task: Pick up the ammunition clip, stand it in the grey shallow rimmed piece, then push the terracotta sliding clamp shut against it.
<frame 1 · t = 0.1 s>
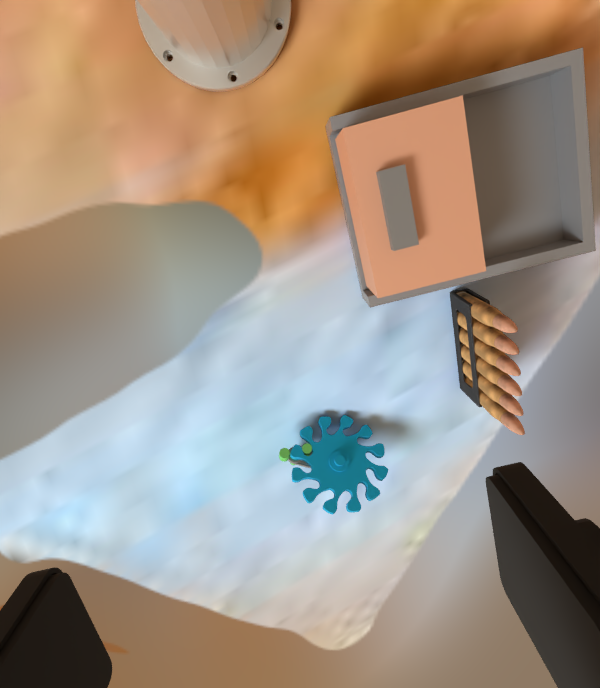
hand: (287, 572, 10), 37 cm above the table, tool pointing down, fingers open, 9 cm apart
grey shallow rimmed piece: (526, 168, 42), on the table
ammunition clip: (463, 339, 47), on the table
gear: (330, 442, 50), on the table
slider: (409, 203, 38), point 5 cm above the table, slide at 6.0 cm
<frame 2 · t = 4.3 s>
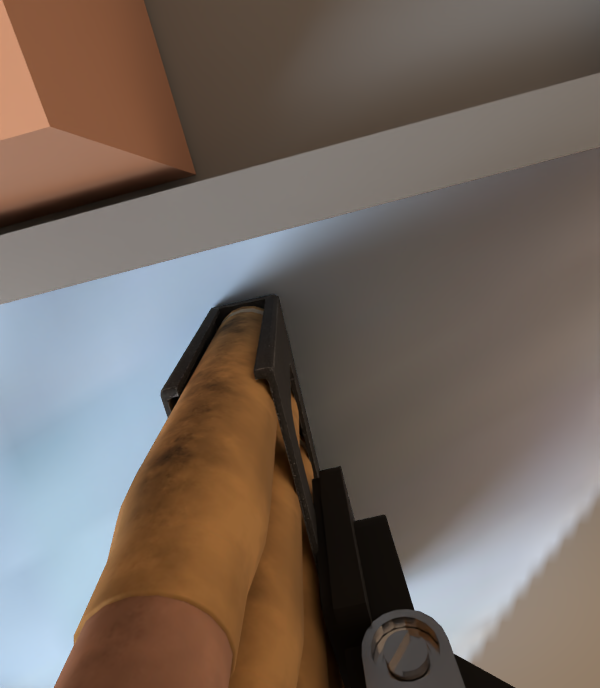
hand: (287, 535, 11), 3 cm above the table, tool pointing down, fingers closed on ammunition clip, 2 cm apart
ammunition clip: (288, 471, 14), on the table, touching gripper
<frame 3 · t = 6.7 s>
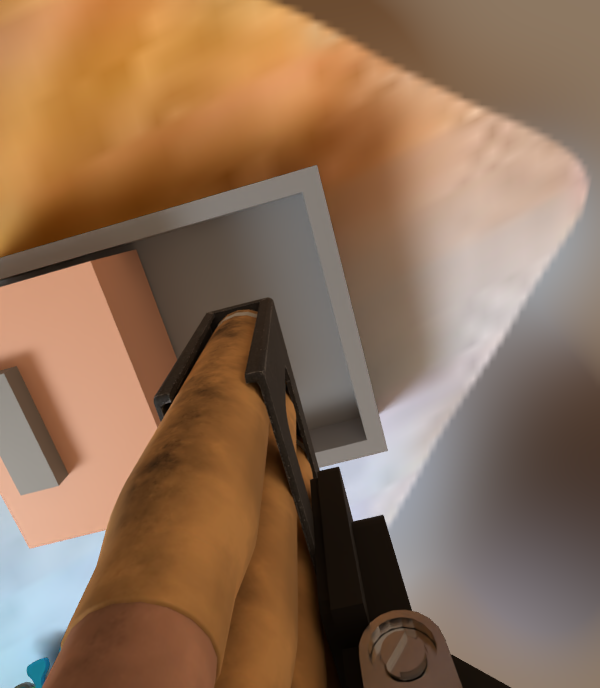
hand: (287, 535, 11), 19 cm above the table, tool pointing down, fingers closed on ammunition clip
grey shallow rimmed piece: (300, 316, 29), on the table
ammunition clip: (288, 472, 14), point 16 cm above the table, touching gripper
gear: (87, 667, 37), on the table
slider: (80, 398, 25), point 5 cm above the table, slide at 6.0 cm
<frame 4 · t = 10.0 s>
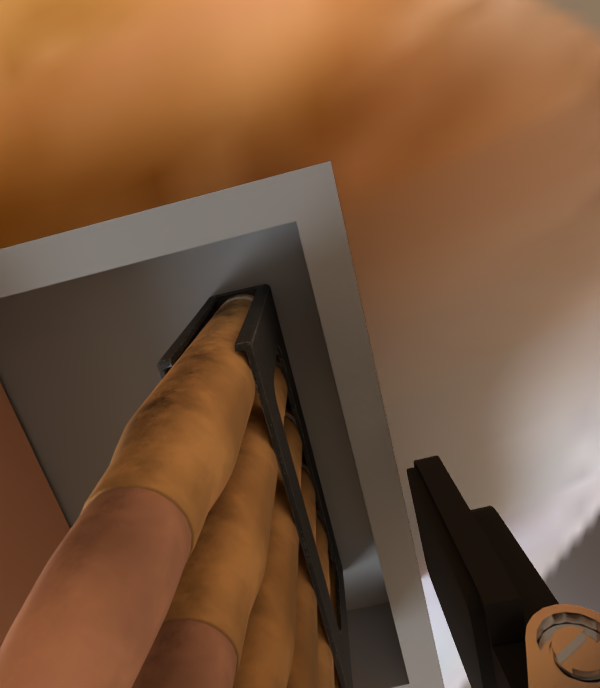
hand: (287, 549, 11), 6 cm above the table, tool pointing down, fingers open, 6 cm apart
grey shallow rimmed piece: (288, 428, 16), on the table
ammunition clip: (282, 445, 15), point 1 cm above the table, touching grey shallow rimmed piece
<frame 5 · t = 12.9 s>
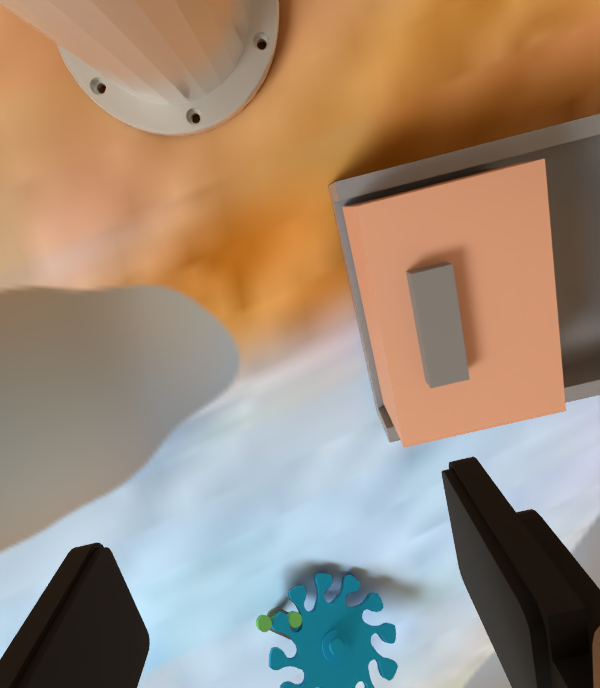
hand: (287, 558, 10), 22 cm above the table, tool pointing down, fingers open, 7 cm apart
gear: (323, 600, 39), on the table
slider: (451, 305, 26), point 5 cm above the table, slide at 6.0 cm
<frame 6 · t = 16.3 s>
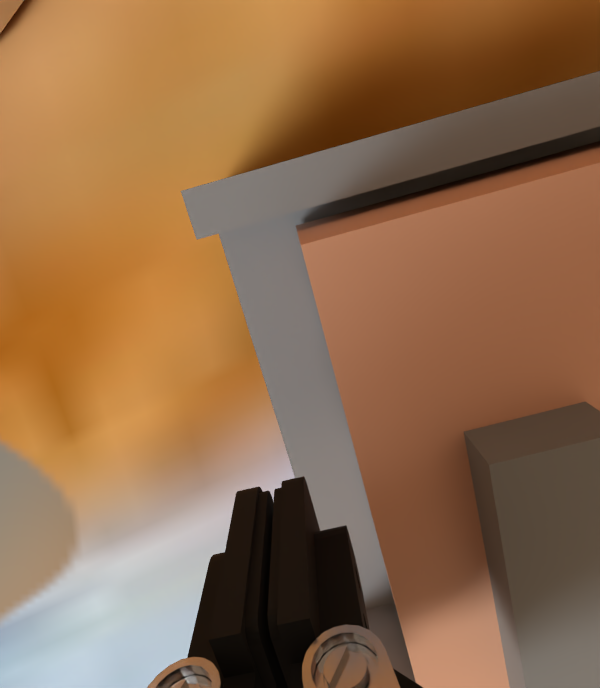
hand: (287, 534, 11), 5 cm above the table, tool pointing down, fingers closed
slider: (559, 463, 11), point 5 cm above the table, slide at 4.3 cm, touching gripper
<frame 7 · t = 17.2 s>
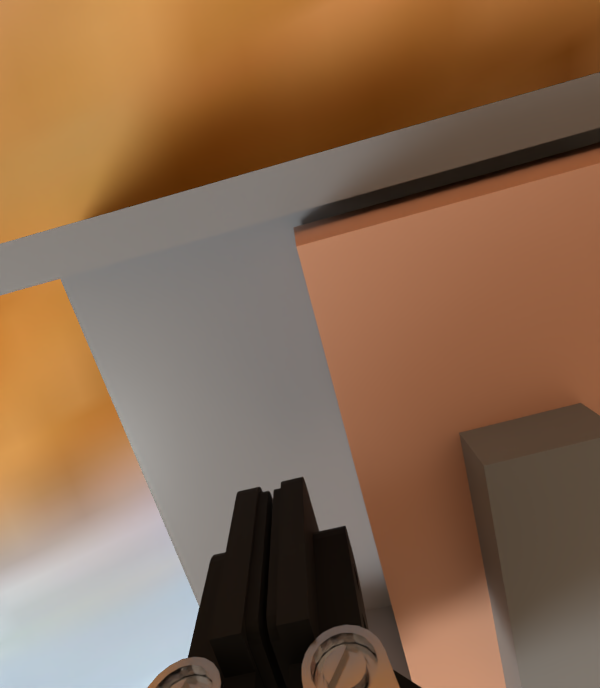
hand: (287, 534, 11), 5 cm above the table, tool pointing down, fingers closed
slider: (556, 465, 11), point 5 cm above the table, slide at -0.3 cm, touching gripper
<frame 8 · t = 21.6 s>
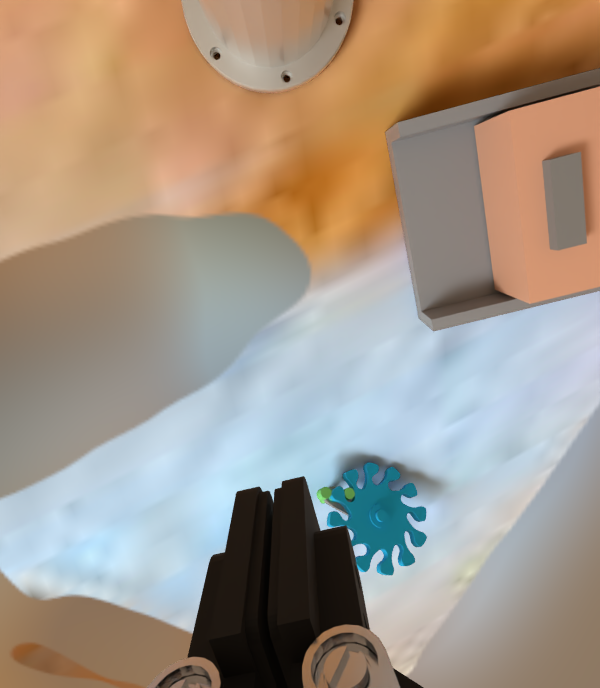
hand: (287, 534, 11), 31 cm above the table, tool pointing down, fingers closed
gear: (365, 489, 47), on the table
slider: (564, 197, 34), point 5 cm above the table, slide at 0.0 cm
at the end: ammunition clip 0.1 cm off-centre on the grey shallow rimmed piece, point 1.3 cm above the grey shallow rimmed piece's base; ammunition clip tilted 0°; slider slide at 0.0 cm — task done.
